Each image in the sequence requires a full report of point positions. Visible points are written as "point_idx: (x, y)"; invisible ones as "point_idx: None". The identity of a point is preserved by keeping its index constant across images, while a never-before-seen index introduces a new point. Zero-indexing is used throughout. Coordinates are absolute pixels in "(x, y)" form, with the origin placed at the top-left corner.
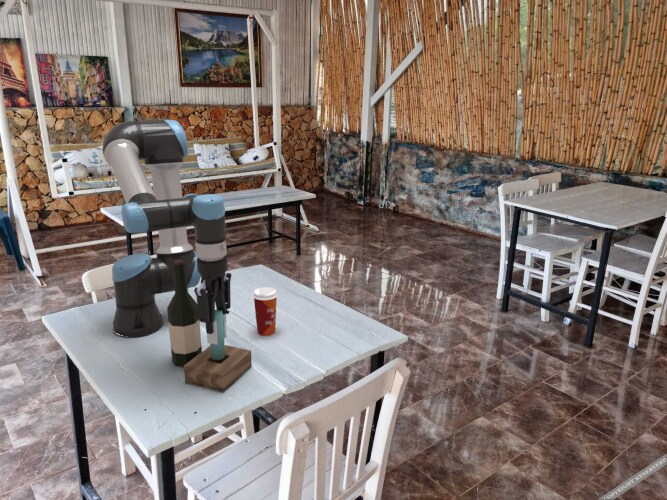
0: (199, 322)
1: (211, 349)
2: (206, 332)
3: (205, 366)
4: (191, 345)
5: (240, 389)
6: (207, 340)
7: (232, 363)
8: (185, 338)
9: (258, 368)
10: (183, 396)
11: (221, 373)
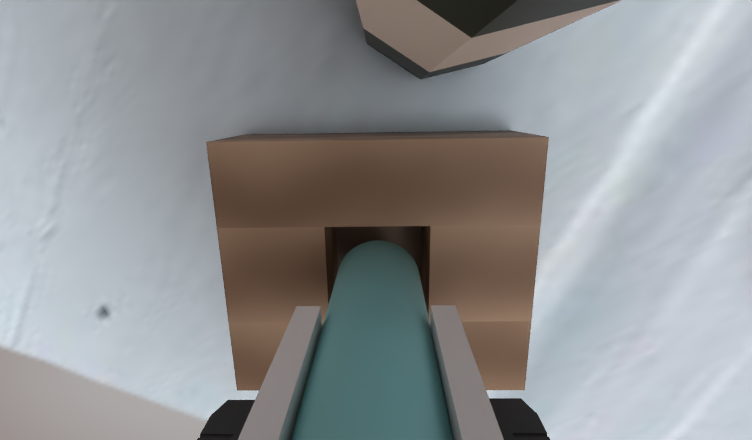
0: (594, 11)
1: (335, 287)
2: (218, 409)
3: (265, 263)
4: (402, 45)
5: None
6: (291, 318)
7: None
8: (363, 2)
9: None
10: (156, 200)
11: (249, 375)
